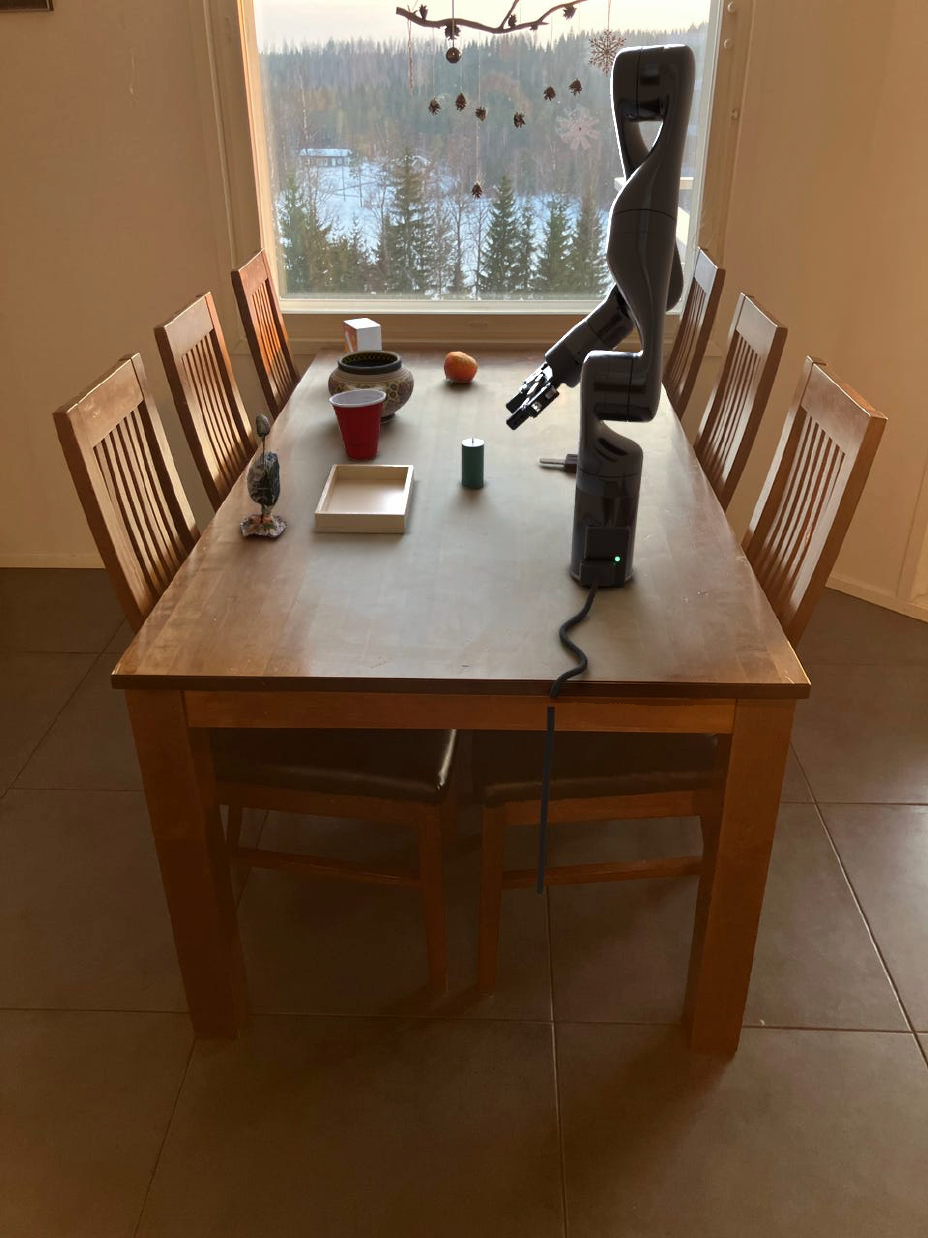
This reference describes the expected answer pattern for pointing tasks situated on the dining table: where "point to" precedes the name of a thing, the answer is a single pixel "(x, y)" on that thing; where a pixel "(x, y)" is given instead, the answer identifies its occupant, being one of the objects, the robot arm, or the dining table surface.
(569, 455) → the ice cream bar
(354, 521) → the wooden tray
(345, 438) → the plastic cup
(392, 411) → the ceramic bowl
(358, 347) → the small box
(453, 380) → the fruit
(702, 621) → the dining table surface
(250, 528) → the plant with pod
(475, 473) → the green candle
